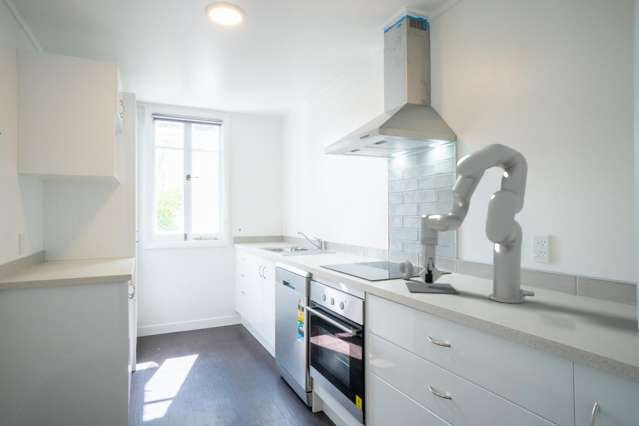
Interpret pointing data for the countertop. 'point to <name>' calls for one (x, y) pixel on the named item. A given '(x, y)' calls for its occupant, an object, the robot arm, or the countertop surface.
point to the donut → (409, 269)
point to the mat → (431, 288)
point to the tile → (435, 275)
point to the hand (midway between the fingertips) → (428, 282)
